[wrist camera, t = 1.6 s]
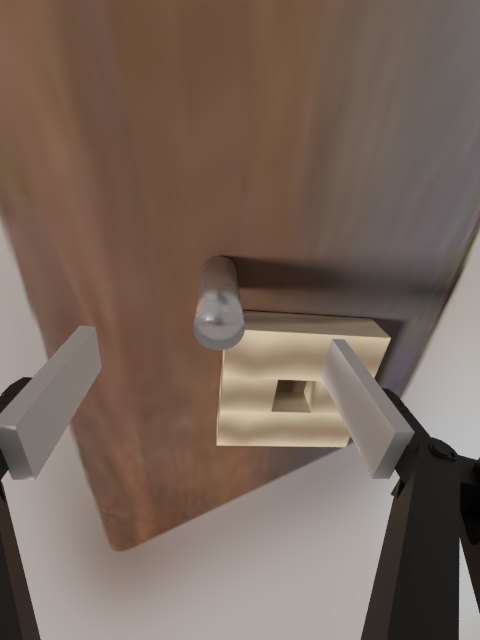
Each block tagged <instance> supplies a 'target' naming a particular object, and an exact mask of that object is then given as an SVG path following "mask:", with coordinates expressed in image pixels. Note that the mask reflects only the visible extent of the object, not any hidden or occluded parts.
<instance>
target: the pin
mask: <svg viewBox="0 0 480 640" xmlns="http://www.w3.org/2000/svg"><path fill="white" fill-rule="evenodd" d="M244 331H245V325H244V319H243V312H242V306H241V299H240V293H239V287H238V280H237V274H236V268H235V265H234V263H233V262H232V261H231V260H230V259H228V258H227V257H224V256H215V257H212V258H210V259H209V260H208V261H207V262H206V263H205V265H204V268H203V274H202V280H201V286H200V292H199V298H198V304H197V310H196V316H195V322H194V334H195V337H196V338H197V340H198V341H199V342H200V343H201V344H202V345H203V346H205V347H207V348H209V349H212V350H226V349H229V348H232V347H234V346H235V345H236V344H238V343H239V342H240V340H241V339H242V337H243V335H244Z"/></svg>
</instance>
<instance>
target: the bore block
mask: <svg viewBox="0 0 480 640" xmlns="http://www.w3.org/2000/svg"><path fill="white" fill-rule="evenodd" d="M242 312H243V319H244V325H245V331H244V335H243V337H242V339H241V340H240V342H239V343H238V344H236V345H235V346H234V347H232V348H229V349H226V350H223V357H222V369H221V380H220V391H219V403H218V414H217V445H225V446H301V447H346V445H347V443H348V440H349V438H350V433H349V431H348V429H347V427H346V425H345V423H344V421H343V419H342V417H341V415H340V413H339V411H338V409H337V407H336V405H335V403H334V401H333V399H332V397H331V395H330V393H329V391H328V389H327V388H326V386H325V384H324V382H323V380H322V378H321V374H322V371H323V368H324V364H325V361H326V357H327V354H328V350H329V347H330V344H331V340H332V339H344V340H345V341H346V342H347V343H348V345H349V346H350V347H351V349H352V350H353V351H354V353H355V354H356V355H357V357H358V358H359V359H360V361H361V362H362V363H363V365H364V366H365V367H366V369H367V370H368V371H369V373H370V374H371V375H372V377H373V378H375V375H376V373H377V371H378V368H379V366H380V363H381V361H382V359H383V356H384V354H385V351H386V349H387V347H388V344H389V342H390V339H391V338H390V337H389V336H388V335H387V334H386V333H385V332H384V331H383V330H382V329H381V328H380V327H379V326H378V325H377V324H376V323H375V322H374V321H373V320H372V319H368V318H352V317H336V316H320V315H304V314H288V313H272V312H256V311H242Z"/></svg>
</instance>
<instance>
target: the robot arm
mask: <svg viewBox="0 0 480 640" xmlns="http://www.w3.org/2000/svg"><path fill="white" fill-rule="evenodd" d="M101 369H102V367H101V361H100V354H99V348H98V341H97V335H96V328H95V326H79V327H78V328H77V330H76V331H75V332H74V333H73V334H72V335H71V336H70V337H69V338H68V339H67V341H66V342H65V343H64V344H63V345H62V346H61V347H60V348H59V349H58V351H57V352H56V353H55V354H54V355H53V356H52V357H51V358H50V359H49V360H48V362H47V363H46V364H45V365H44V366H43V367H42V368H41V369H40V370H39V371H38V373H37V374H36V375H35V376H34V377H33V378H28V377H23V378H21V379H20V380H18V381H16V382H15V383H13V384H11V385H10V386H9V387H8V388H7V389H6V390H5V391H4V392H3V393H2V394H1V396H0V640H41V639H40V635H39V631H38V627H37V623H36V619H35V615H34V610H33V606H32V602H31V598H30V594H29V590H28V586H27V582H26V578H25V573H24V569H23V565H22V561H21V557H20V553H19V549H18V545H17V541H16V537H15V533H14V528H13V524H12V520H11V516H10V512H9V508H8V504H7V500H6V496H5V491H4V487H3V484H2V482H1V479H2V478H3V476H4V475H5V473H6V472H7V471H8V470H9V473H10V475H11V477H12V479H13V480H35V479H36V477H37V476H38V474H39V472H40V471H41V469H42V467H43V466H44V464H45V462H46V460H47V459H48V457H49V456H50V454H51V452H52V450H53V449H54V447H55V446H56V444H57V442H58V441H59V439H60V437H61V435H62V434H63V432H64V430H65V429H66V427H67V426H68V424H69V422H70V421H71V419H72V417H73V416H74V414H75V412H76V410H77V409H78V407H79V405H80V404H81V402H82V400H83V399H84V397H85V395H86V394H87V392H88V390H89V389H90V387H91V385H92V384H93V382H94V380H95V379H96V377H97V375H98V374H99V372H100V370H101ZM321 378H322V380H323V382H324V384H325V386H326V388H327V389H328V391H329V393H330V395H331V397H332V399H333V401H334V403H335V405H336V407H337V409H338V411H339V413H340V415H341V417H342V419H343V421H344V423H345V425H346V427H347V429H348V431H349V433H350V435H351V437H352V439H353V441H354V443H355V445H356V447H357V449H358V451H359V453H360V455H361V457H362V459H363V461H364V463H365V465H366V467H367V469H368V471H369V473H370V475H371V477H372V478H373V479H378V478H379V479H383V478H384V479H389V478H390V477H391V475H392V473H393V471H394V469H395V470H396V472H397V473H398V475H399V476H400V479H399V481H398V482H397V484H396V486H395V488H394V489H393V491H392V493H391V495H393V496H394V499H393V503H392V508H391V512H390V516H389V520H388V525H387V529H386V534H385V537H384V542H383V546H382V550H381V555H380V559H379V563H378V568H377V572H376V576H375V580H374V585H373V589H372V593H371V598H370V602H369V607H368V611H367V615H366V620H365V624H364V628H363V632H362V636H361V640H459V538H460V540H461V544H462V547H463V552H464V555H465V559H466V563H467V567H468V570H469V574H470V578H471V582H472V586H473V589H474V593H475V597H476V601H477V604H478V608H479V612H480V458H479V459H478V460H475V459H471V458H467V457H464V456H460V455H457V453H456V452H455V450H454V449H452V448H451V447H450V446H449V445H448V444H446V443H444V442H443V441H441V440H438V439H436V438H431V437H430V436H429V434H428V433H427V432H426V431H425V429H424V428H423V427H422V426H421V424H420V423H419V422H418V421H417V419H416V418H415V417H414V416H413V415H412V413H410V411H409V410H408V408H407V407H406V406H404V403H403V402H402V401H401V400H400V398H399V397H398V396H397V395H396V394H394V393H393V392H392V391H390V390H389V389H385V388H381V387H380V386H379V384H378V383H377V382H376V380H375V379H374V378H373V377H372V375H371V374H370V373H369V371H368V370H367V369H366V367H365V366H364V365H363V363H362V362H361V361H360V359H359V358H358V357H357V355H356V354H355V353H354V351H353V350H352V349H351V347H350V346H349V345H348V343H347V342H346V341H345V340H344V339H332V340H331V344H330V347H329V350H328V354H327V357H326V361H325V364H324V368H323V371H322V374H321Z"/></svg>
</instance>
